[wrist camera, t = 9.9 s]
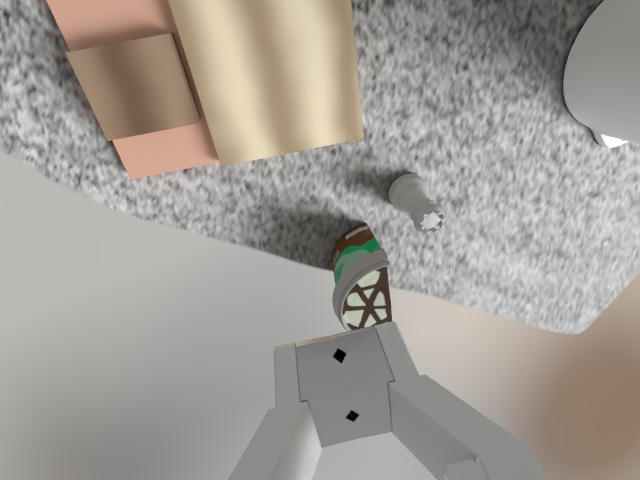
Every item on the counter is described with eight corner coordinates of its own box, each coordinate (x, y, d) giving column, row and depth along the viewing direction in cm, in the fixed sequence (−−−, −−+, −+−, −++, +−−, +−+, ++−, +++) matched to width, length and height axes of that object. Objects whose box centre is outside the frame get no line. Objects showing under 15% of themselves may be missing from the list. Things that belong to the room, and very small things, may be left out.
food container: (314, 223, 43) (326, 274, 34) (364, 212, 43) (389, 259, 35) (330, 300, 49) (344, 359, 41) (374, 290, 50) (397, 346, 41)
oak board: (336, -68, 29) (343, -76, 27) (356, 130, 38) (363, 138, 35) (164, -37, 29) (154, -42, 26) (224, 156, 37) (221, 166, 35)
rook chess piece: (385, 177, 41) (409, 209, 34) (423, 167, 41) (455, 196, 34) (389, 211, 43) (412, 247, 37) (425, 202, 43) (455, 236, 37)
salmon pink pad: (161, -36, 29) (157, -39, 28) (222, 156, 37) (220, 161, 36) (48, -16, 29) (38, -17, 27) (135, 173, 37) (130, 179, 36)
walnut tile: (173, 32, 30) (167, 33, 28) (201, 118, 34) (197, 123, 32) (76, 50, 30) (65, 52, 28) (115, 134, 33) (107, 141, 32)
